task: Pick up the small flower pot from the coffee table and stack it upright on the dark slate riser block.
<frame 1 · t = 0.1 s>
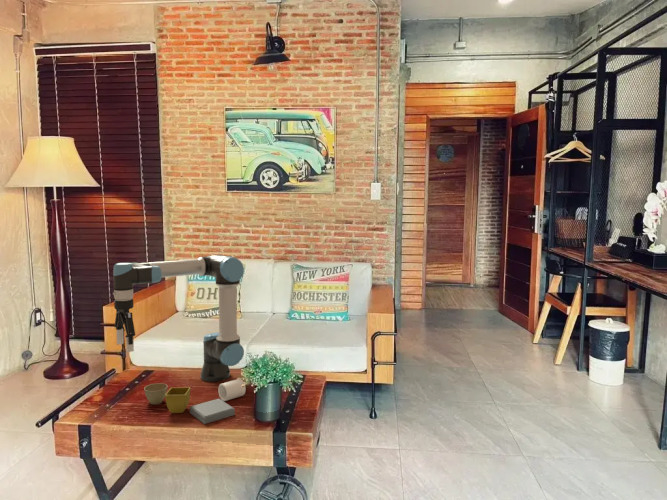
hand: (125, 347, 206), 28 cm above the table, fingers open, 13 cm apart
mug: (229, 397, 225), on the table
round planter pot: (156, 402, 218), on the table
slate riser: (212, 413, 207), on the table
flower pot: (178, 411, 209), on the table
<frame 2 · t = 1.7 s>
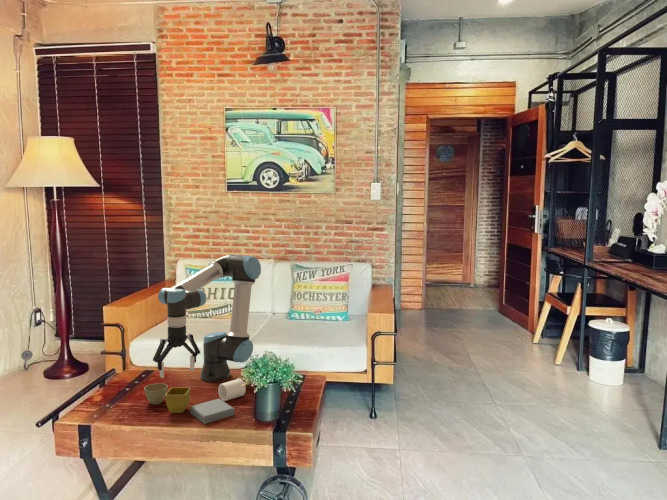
hand: (177, 373, 207), 17 cm above the table, fingers open, 13 cm apart
nothing on the table moved.
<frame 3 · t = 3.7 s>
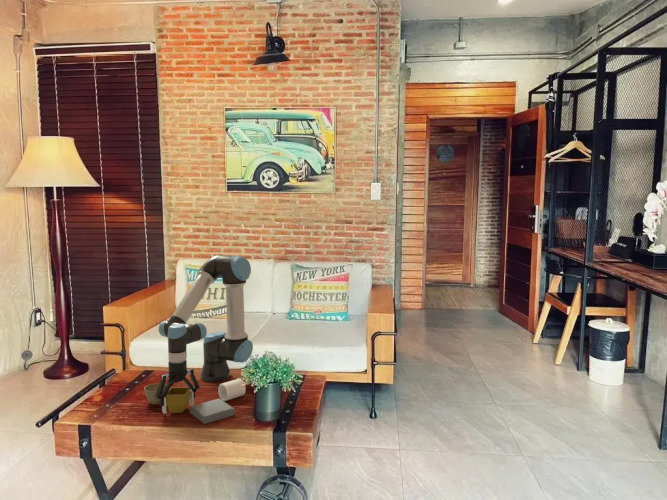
hand: (178, 409, 209), 1 cm above the table, fingers closed on flower pot, 12 cm apart
flower pot: (178, 411, 209), on the table, touching gripper
everything else where it was.
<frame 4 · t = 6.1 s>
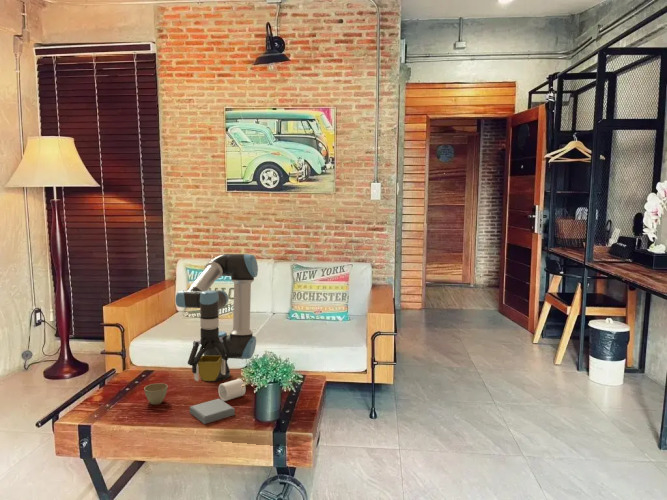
hand: (210, 377, 205), 16 cm above the table, fingers closed on flower pot, 12 cm apart
flower pot: (210, 379, 205), point 15 cm above the table, touching gripper
everything else where it was.
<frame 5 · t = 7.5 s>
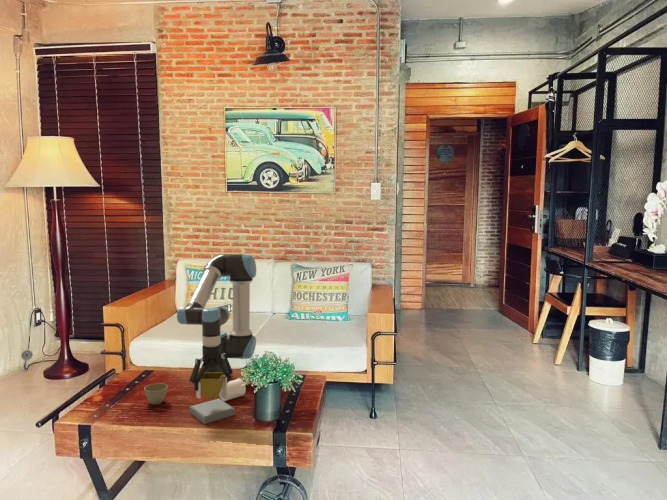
hand: (211, 394, 206), 9 cm above the table, fingers closed on flower pot, 12 cm apart
flower pot: (211, 396, 206), point 8 cm above the table, touching gripper
everything else where it was.
when the fingers open (5 cm above the table, at t = 8.8 s): flower pot drops 1 cm, resting on slate riser.
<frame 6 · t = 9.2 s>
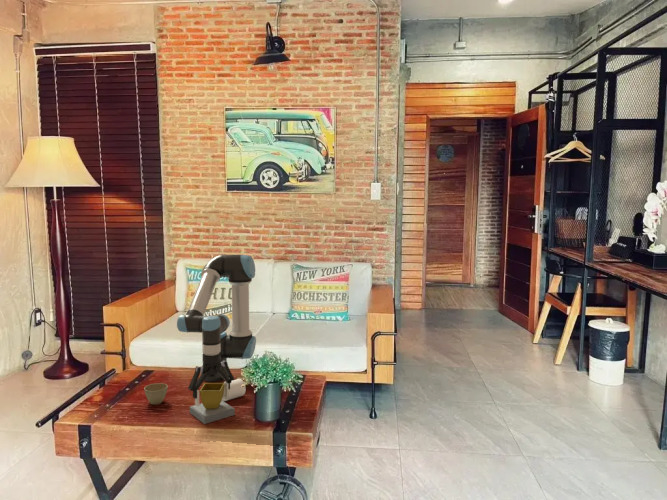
hand: (212, 401, 206), 6 cm above the table, fingers open, 13 cm apart
flower pot: (212, 407, 207), point 3 cm above the table, touching slate riser
everything else where it was.
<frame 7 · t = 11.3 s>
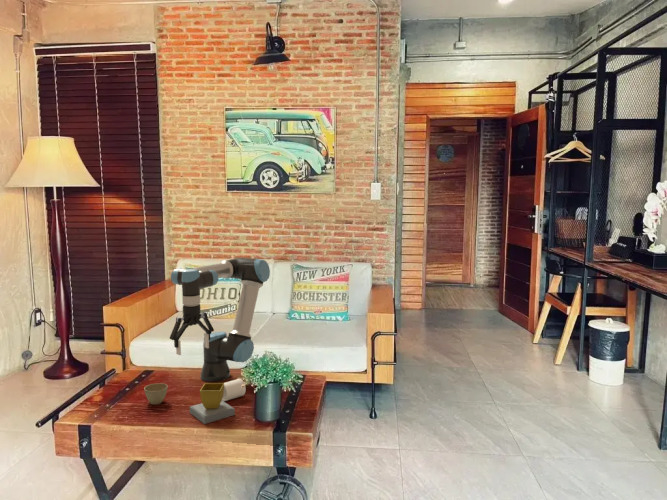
hand: (193, 350, 214), 25 cm above the table, fingers open, 13 cm apart
nothing on the table moved.
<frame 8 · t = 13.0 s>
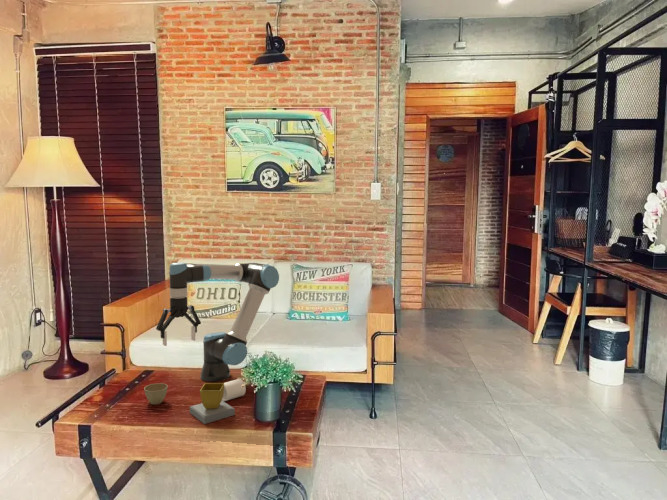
hand: (179, 342, 220), 27 cm above the table, fingers open, 13 cm apart
nothing on the table moved.
at the end: flower pot inside the target area on the slate riser (0.3 cm from its centre), point 2.8 cm above the slate riser's base; flower pot tilted 0°; the gripper is holding nothing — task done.
